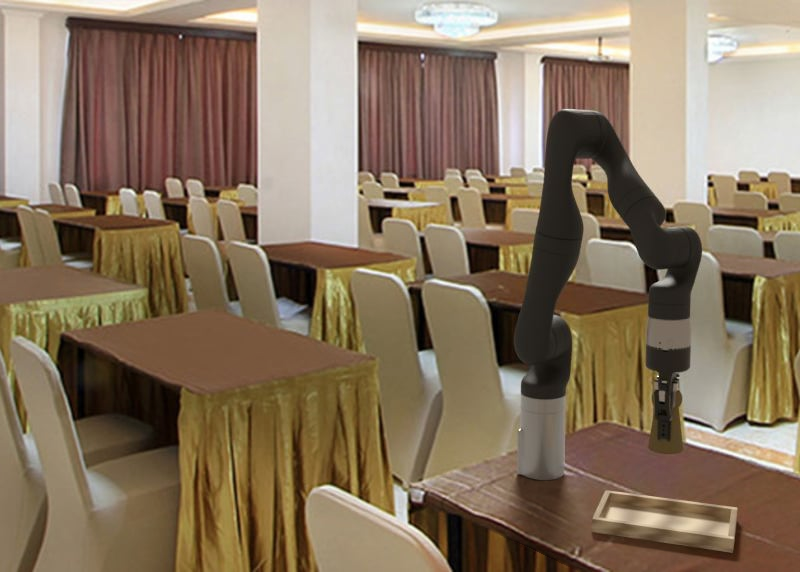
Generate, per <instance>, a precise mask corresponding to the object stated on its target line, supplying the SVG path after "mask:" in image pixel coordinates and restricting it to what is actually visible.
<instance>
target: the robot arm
mask: <svg viewBox="0 0 800 572" xmlns="http://www.w3.org/2000/svg"><path fill="white" fill-rule="evenodd" d="M614 128H615V127H613V125H612V123H611V121H610V120H609V119H608V118H607V117H606V115H604V114H603V113H602V112H600V111H596V110H591V109H574V108H563V109H559V110H558V111H556V112H555V113H554V115H553V116H552V117H551V119H550V123H549V124H548V129H547V133H546V134H547V135H546V140H545V141H546V143H545V156H544V170H543V183H542V191H541V199H540V205H539V213H538V218H537V223H536V227H535V232H534V237H533V238H534V239H533V245H532V253H531V258H530V259H531V260H530V266H529V270H528V274H527V275H528V276H527V281H526V287H525V290H524V291H525V292H524V294H523V295H524V297H523V300H522V303H521V308H520V311H519V313H518V317H517V318H518V319H517V321H516V324H515V325H516V326H515V329H514V334H513V345H514V351H515V354H516V355H517V357H518V359H519V360H520V361H521V362H523V363H524V364H525V365H529V366H531V367H530V369H529V370H528V372H527V373H526V374H525V375H524V376H523V377H522V379H521V381H520V418H519V421H520V423H519V424H520V426H519V428H518V430H517V440H516V441H517V444H516V445H517V448H516V449H517V451H516V452H517V453H516V458H517V459H516V461H517V462H516V474H517V475H522V476H523V477H526V478H528V479H531V480H538V481H550V480H556V479H560V478H561V477H563V476H564V475H565V454H566V453H565V452H566V451H565V449H566V447H565V445H566V401H567V400H566V399H567V397H566V396H567V387H568V385H569V381H570V379H571V372H572V371H571V370H572V369H571V368H572V358H573V357H572V356H573V355H572V354H573V337H572V336H573V334H572V331H571V327H570V326H569V324H568V322H567V321H566V320H565V319H564V318H563V317H561V316H559V315H558V314H555V310H556V305H557V302H558V300H559V297H560V295H561V293H562V292H563V289H564V288H565V286H566V284H568V281H569V279H570V278H571V276H572V274H573V273H574V270H575V268H576V266H577V264H578V261H579V257H580V255H581V248H582V243H583V237H584V230H585V229H584V222H583V217H582V213H581V211H580V209H579V206H578V203H577V200H576V198H575V195H574V190H573V173H574V165H575V160H577V159H580V160H586V159H587V160H589V159H590V160H592V161H593V162H595V163H596V164H597V165H598V166H599V167H600V168H601V169H602V171H604V173H605V175H606V181H607V195H608V198H609V201H610V203H611V205H612V207H613V209H614V210H615V212H616V213H617V214H618V216H619V217H620V218H621V219H622V221H623V222H624V223H625V224H626V226H627V227H628V228H629V232H630V235H631V237H632V240H633V242H634V243H633V244H634V245H635V248H636V249H635V250H636V252H637V254H638V256H639V258H640V260H641V261H642V262H643V263H644V264H645V265H646V266H647V267H649V268H650V269H653V270H657V271H659V270H666V272H665V276H663V278H662V279H660V280H659V281H657V282H654V283H652V284H651V285H650V286H649V290H648V297H647V298H648V305H647V308H648V309H647V320H646V321H647V322H646V329H645V367H646V368H647V369H648V370H649V371H652V372H653V371H654V372H657V373H658V375H656V379H654V382H653V383H654V384H653V388H654V389H653V391H654V390H655V391H654V394H655V406H654V407H655V419H656V420H658V435H657V439H658V440H659V441H660V439H667V441H668V442H669V441H670V439H671V421H672V418H673V417H672V409H673V408H674V407H675V400H676V392H677V391H678V390H679V391H680V385H681V378H680V373H684V372H686V371H689V370H690V368H691V352H692V351H691V348H692V345H691V343H692V328H691V327H692V324H691V299H692V298H691V295H692V290H693V287H694V285H695V282H696V277H697V275H698V272H699V268H700V264H701V261H702V257H703V245H702V240H701V238H700V235H699V234H698V232H697V231H696V230H695V229H693V228H692V227H690V226H684V225H683V226H672V227H671V226H670V227H661V226H662V225H663V223H664V222H665V221H666V218H667V211H666V208H665V206H664V204H663V203H662V202H661V200H660V199H659V198H658V197H657V196H656V194H655V193H654V192H653V190H652V189H651V188H650V187H649V185H648V184H647V183H646V182H645V180H643V178H642V177H641V175H640V173H638V171H637V169H636V167H635V166H634V164H633V162H632V160H631V159H630V157H629V155H628V153H627V151H626V149H625V147H624V146H623V144H622V142H621V140H620V138H619V136H618V133H616V130H615V129H614ZM672 392H673V393H672ZM671 397H672V402H671V403H670V398H671ZM661 409H662V410H666V411H667V413H661Z"/></svg>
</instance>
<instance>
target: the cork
mask: <svg viewBox="0 0 800 572" xmlns="http://www.w3.org/2000/svg"><path fill="white" fill-rule="evenodd" d="M654 391H655V389H653V391H652V394H651V402H652V404H653V406H654V408H653V415H652V421H651V425H650V426H651V428H650V433H649V438H648V445H647V448H648V450H649V451H650V452H653V453H656V454H659V455H676V454H677V455H678V454H681V453H682V452H683V451H684V443H683V434H682V424H681V415H680V406H681V405H682V403H683V394H682V392H681V391H680V389H679V390H678V391H677V392H676V400H675V407H674V408H673V409H672V417H673V418H672V421H671V439H670V441H669V442H668V441H667V439H660V441H659V440H658V439H657V435H658V420H656V419H655V394H654ZM672 393H673V392H672ZM671 402H672V397H671V398H670V403H671ZM661 413H667V411H666V410H662V409H661Z"/></svg>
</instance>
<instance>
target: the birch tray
mask: <svg viewBox="0 0 800 572" xmlns="http://www.w3.org/2000/svg"><path fill="white" fill-rule="evenodd" d="M591 520H592V521H591V532H592V533H597V534H604V535H609V536H611V535H612V536H618V537H624V538H625V537H626V538H630V539H638V540H642V541H643V540H644V541H649V542H650V541H652V542H658V543H662V544H663V543H665V544H670V545H671V544H673V545H676V546H677V545H679V546H683V547H691V548H697V549H698V548H699V549H704V550H705V549H706V550H709V551H711V550H712V551H719V552H723V553H724V552H725V553H731V554H734V547H735V538H736V530H737V521H738V507H737V506H736V507H735V506H728V505H719V504H713V503H704V502H697V501H692V500H691V501H690V500H683V499H675V498H674V499H673V498H667V497H660V496H652V495H645V494H644V495H643V494H638V493H637V494H636V493H630V492H621V491H615V490H614V491H613V490H607V489H606V490H605V491H604V493H603V495H602V497H601V500H600V501H599V503H598V506H597V508H596V509H595V511H594V514H593V516H592V519H591Z"/></svg>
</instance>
